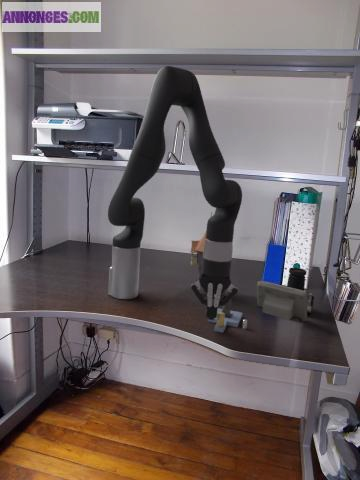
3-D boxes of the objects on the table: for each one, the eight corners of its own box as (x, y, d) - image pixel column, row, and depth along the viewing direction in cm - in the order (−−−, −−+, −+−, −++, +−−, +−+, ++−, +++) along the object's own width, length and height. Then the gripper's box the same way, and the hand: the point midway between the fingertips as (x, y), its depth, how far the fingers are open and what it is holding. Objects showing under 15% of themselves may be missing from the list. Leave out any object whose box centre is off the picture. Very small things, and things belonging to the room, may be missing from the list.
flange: (214, 311, 114) (216, 296, 113) (242, 316, 111) (243, 301, 110) (203, 328, 101) (204, 312, 100) (234, 334, 99) (235, 318, 98)
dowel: (241, 329, 103) (242, 320, 102) (242, 327, 104) (243, 318, 103) (245, 330, 103) (246, 321, 102) (246, 328, 104) (247, 319, 103)
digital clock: (309, 322, 115) (314, 289, 112) (294, 329, 108) (299, 295, 106) (264, 306, 126) (268, 276, 124) (249, 312, 120) (252, 280, 117)
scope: (316, 276, 115) (283, 270, 119) (309, 318, 118) (278, 311, 122) (318, 270, 122) (287, 265, 126) (313, 310, 125) (282, 303, 129)
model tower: (187, 291, 135) (194, 209, 129) (218, 293, 134) (225, 211, 129) (186, 300, 126) (193, 212, 120) (219, 303, 125) (227, 215, 119)
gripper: (192, 258, 93) (186, 322, 97) (244, 262, 93) (237, 326, 97) (191, 251, 101) (186, 311, 104) (240, 255, 101) (233, 315, 104)
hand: (211, 318), depth 100 cm, fingers closed
